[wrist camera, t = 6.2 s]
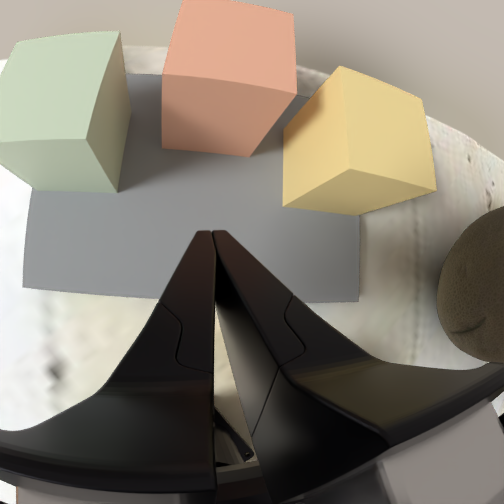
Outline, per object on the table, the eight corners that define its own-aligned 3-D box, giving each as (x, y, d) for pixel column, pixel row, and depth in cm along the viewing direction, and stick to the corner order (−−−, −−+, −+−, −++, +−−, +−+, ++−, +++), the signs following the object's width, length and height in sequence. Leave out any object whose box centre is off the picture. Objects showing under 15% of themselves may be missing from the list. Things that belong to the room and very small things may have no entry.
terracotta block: (249, 157, 21) (297, 93, 12) (161, 148, 19) (162, 73, 11) (252, 88, 21) (293, 14, 13) (174, 78, 20) (184, -5, 11)
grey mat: (349, 300, 23) (358, 301, 22) (29, 286, 17) (22, 287, 16) (345, 115, 25) (352, 110, 23) (67, 83, 18) (63, 75, 17)
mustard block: (355, 216, 23) (436, 191, 14) (282, 206, 21) (349, 168, 13) (352, 144, 23) (421, 99, 15) (283, 129, 22) (339, 65, 13)
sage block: (117, 193, 18) (85, 138, 10) (37, 190, 17) (-26, 145, 8) (131, 112, 19) (120, 30, 10) (56, 112, 17) (17, 42, 9)
